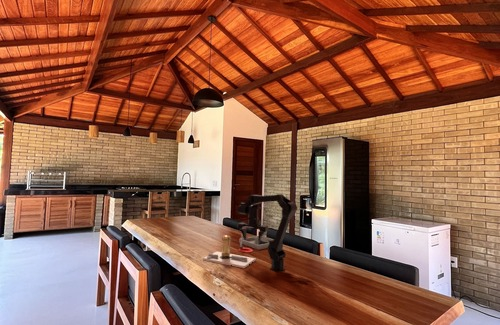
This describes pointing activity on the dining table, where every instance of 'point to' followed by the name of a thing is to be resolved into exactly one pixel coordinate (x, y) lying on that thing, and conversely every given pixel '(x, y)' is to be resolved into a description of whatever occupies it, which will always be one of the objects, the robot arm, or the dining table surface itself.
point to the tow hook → (243, 247)
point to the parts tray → (261, 244)
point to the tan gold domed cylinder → (226, 246)
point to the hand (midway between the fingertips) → (252, 241)
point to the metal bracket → (257, 240)
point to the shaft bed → (230, 259)
